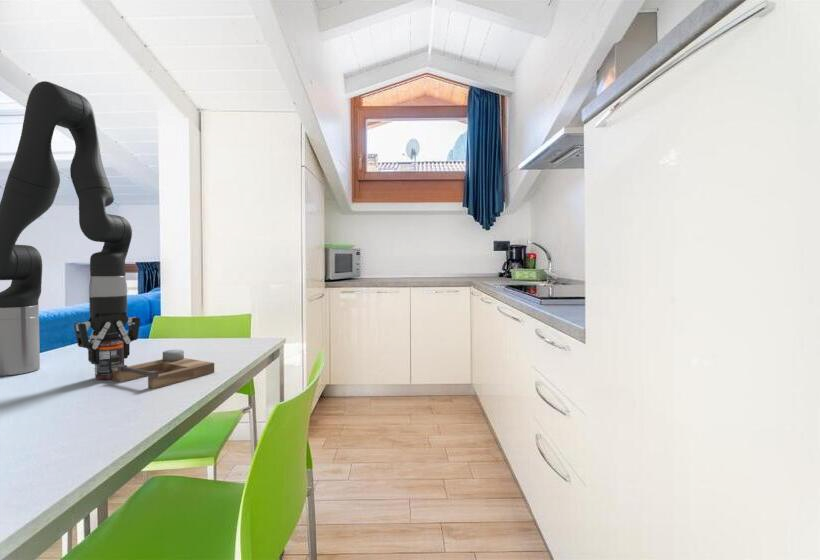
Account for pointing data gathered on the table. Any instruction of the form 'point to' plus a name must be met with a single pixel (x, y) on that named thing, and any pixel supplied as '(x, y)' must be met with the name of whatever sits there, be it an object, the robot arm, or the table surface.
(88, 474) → the table surface
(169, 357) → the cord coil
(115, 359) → the supplement bottle
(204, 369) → the notched board
